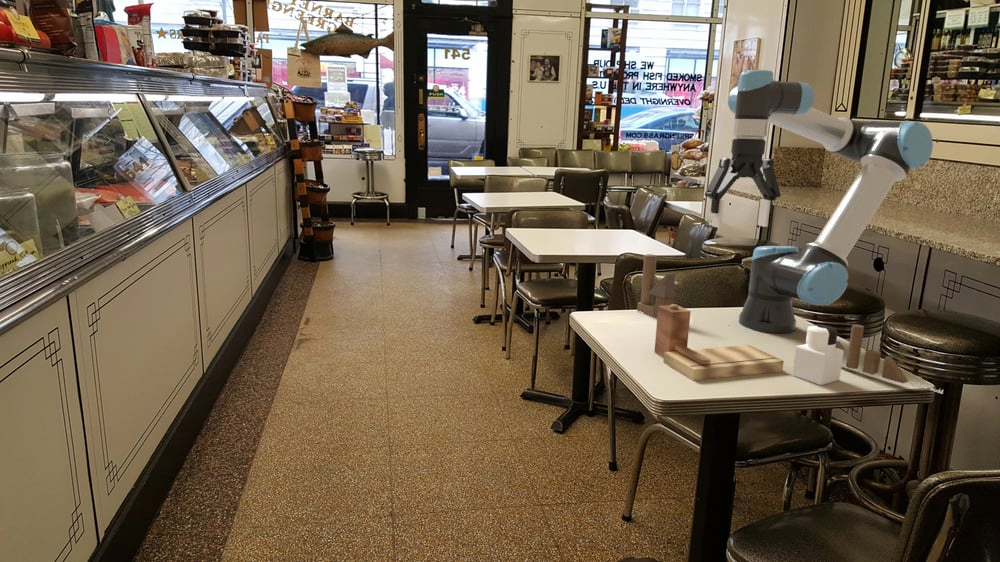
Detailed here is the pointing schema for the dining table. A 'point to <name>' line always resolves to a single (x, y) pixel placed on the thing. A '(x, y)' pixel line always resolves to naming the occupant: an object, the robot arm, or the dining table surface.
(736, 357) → the board
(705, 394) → the dining table surface
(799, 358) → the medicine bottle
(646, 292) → the wooden post assembly
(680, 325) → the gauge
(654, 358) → the dining table surface
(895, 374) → the wood blocks
